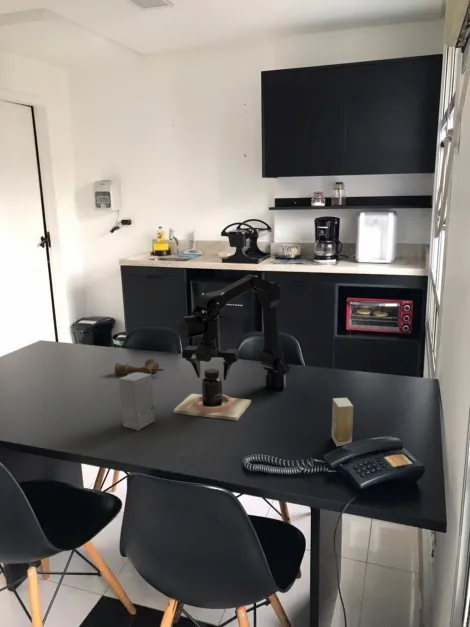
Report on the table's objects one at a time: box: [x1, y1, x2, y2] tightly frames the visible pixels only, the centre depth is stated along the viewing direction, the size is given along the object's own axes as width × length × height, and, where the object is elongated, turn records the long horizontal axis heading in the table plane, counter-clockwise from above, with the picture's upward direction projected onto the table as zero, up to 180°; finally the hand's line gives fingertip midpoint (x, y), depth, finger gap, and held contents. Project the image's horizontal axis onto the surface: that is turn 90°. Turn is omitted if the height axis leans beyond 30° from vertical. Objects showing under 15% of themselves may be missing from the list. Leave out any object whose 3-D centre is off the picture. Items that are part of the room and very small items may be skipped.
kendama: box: [114, 358, 164, 378], centre depth 202 cm, size 6×10×20 cm
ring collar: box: [194, 393, 232, 413], centre depth 169 cm, size 12×12×2 cm
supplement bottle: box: [201, 368, 223, 407], centre depth 168 cm, size 7×7×12 cm
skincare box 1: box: [118, 372, 156, 431], centre depth 156 cm, size 8×7×16 cm
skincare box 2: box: [331, 397, 354, 448], centre depth 142 cm, size 6×4×12 cm
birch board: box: [172, 393, 252, 421], centre depth 169 cm, size 22×15×1 cm
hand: (211, 378), depth 167 cm, fingers open, 9 cm apart
